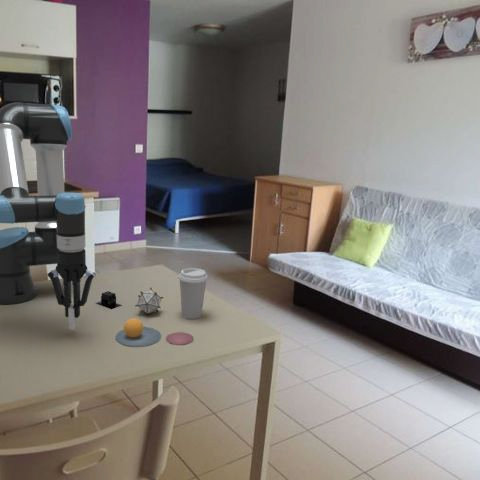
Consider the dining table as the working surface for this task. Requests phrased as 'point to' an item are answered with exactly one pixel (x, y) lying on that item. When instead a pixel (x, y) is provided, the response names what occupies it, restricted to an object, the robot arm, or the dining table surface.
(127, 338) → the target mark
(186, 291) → the coffee cup
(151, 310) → the game die
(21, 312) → the dining table surface
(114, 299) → the black boxy piece
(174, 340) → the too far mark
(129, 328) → the ball
